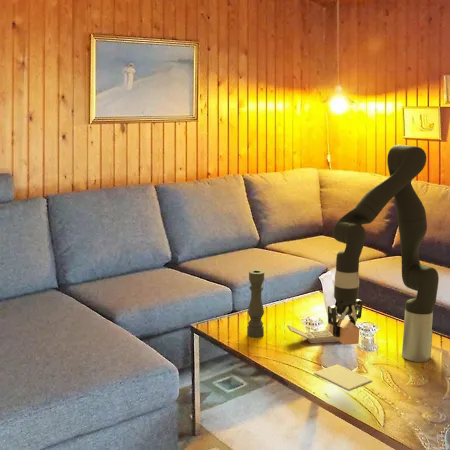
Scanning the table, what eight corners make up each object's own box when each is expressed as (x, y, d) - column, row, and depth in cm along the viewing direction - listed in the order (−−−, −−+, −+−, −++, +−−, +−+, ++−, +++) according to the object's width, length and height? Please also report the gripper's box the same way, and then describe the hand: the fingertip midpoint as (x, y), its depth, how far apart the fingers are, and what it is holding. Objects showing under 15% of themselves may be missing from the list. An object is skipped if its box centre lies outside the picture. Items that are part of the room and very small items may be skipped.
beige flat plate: (337, 365, 212) (337, 364, 212) (371, 381, 201) (372, 379, 201) (313, 373, 206) (313, 372, 206) (348, 390, 194) (348, 389, 194)
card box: (358, 343, 196) (359, 328, 195) (343, 344, 195) (344, 329, 194) (343, 331, 207) (344, 316, 206) (329, 332, 205) (330, 317, 204)
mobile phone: (286, 325, 234) (349, 320, 239) (286, 339, 235) (348, 335, 240) (291, 330, 228) (355, 326, 233) (290, 346, 230) (355, 341, 234)
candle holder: (245, 333, 241) (246, 270, 236) (260, 331, 243) (261, 269, 238) (250, 339, 235) (251, 274, 230) (265, 337, 237) (267, 273, 232)
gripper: (339, 290, 190) (337, 342, 193) (371, 283, 199) (368, 333, 202) (321, 285, 196) (319, 335, 199) (353, 277, 205) (350, 326, 208)
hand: (344, 334), depth 201 cm, fingers closed on card box, 6 cm apart
